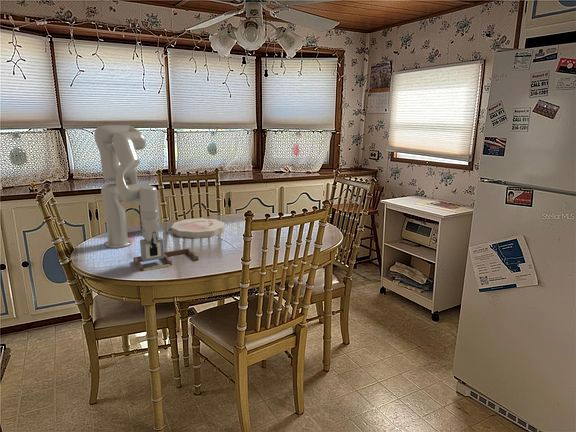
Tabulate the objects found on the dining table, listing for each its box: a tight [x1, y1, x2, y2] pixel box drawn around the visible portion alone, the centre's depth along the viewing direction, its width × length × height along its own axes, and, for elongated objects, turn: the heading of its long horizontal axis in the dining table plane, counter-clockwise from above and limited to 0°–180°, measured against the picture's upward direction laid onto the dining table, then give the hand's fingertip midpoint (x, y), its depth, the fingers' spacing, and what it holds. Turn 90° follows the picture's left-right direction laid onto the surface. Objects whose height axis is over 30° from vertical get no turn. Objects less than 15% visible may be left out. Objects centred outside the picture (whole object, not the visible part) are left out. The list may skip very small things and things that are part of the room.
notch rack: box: [133, 248, 200, 272], centre depth 186 cm, size 14×26×3 cm, turn 123°
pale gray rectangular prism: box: [139, 236, 165, 263], centre depth 181 cm, size 4×9×9 cm, turn 123°
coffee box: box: [138, 203, 161, 233], centre depth 229 cm, size 9×6×16 cm
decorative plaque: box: [170, 217, 226, 239], centre depth 236 cm, size 30×4×30 cm
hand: (152, 253), depth 182 cm, fingers closed on pale gray rectangular prism, 4 cm apart
